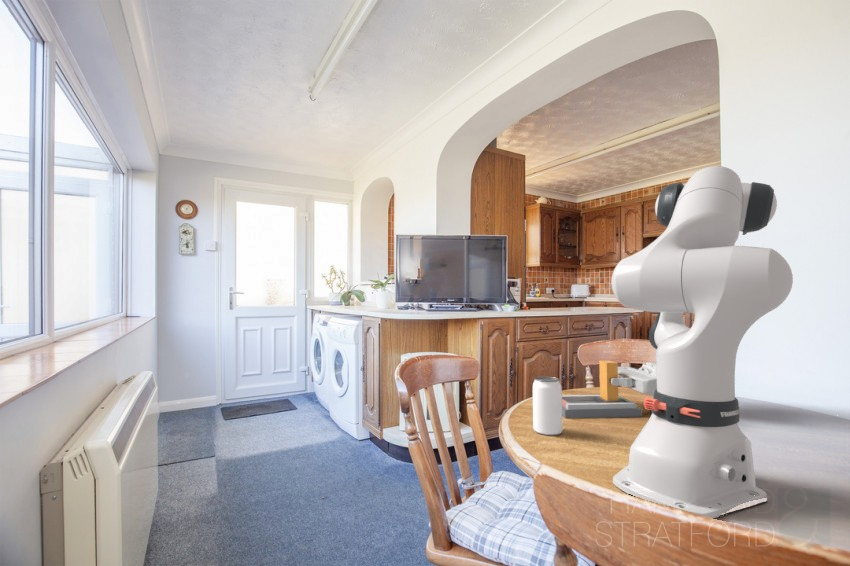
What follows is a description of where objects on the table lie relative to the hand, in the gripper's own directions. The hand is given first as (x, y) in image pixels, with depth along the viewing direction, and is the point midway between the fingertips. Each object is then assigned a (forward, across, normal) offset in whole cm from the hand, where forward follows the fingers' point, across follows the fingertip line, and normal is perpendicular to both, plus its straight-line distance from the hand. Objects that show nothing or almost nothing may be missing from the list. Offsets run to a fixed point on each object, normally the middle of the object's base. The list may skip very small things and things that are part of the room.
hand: (605, 379), depth 107 cm
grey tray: (+4, 0, +8) cm, 9 cm away
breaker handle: (-1, 0, +6) cm, 6 cm away
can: (+22, +15, +9) cm, 28 cm away
